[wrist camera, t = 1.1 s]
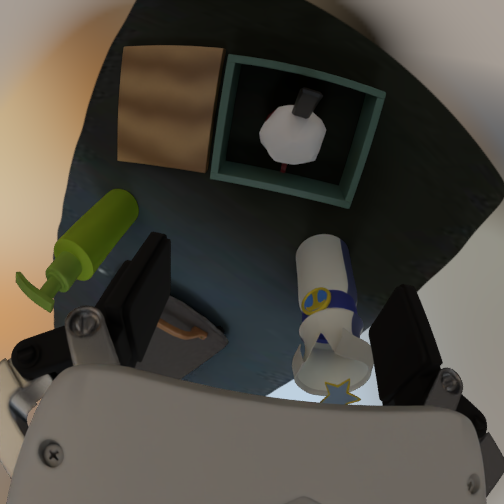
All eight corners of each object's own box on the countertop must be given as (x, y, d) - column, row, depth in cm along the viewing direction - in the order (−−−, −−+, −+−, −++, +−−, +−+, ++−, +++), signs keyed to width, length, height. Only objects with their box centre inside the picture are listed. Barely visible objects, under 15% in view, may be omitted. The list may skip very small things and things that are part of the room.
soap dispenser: (107, 177, 36) (13, 263, 20) (145, 203, 38) (65, 305, 22) (95, 206, 39) (13, 294, 23) (129, 231, 41) (59, 330, 25)
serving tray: (161, 385, 71) (155, 404, 66) (87, 344, 64) (77, 362, 59) (242, 324, 51) (237, 352, 46) (127, 254, 44) (110, 279, 39)
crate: (235, 56, 26) (228, 54, 23) (373, 89, 26) (386, 92, 23) (218, 165, 34) (209, 178, 31) (342, 192, 34) (349, 209, 31)
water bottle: (279, 250, 41) (265, 428, 20) (333, 221, 37) (366, 405, 17) (309, 287, 44) (312, 450, 24) (359, 263, 40) (393, 430, 20)
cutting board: (129, 46, 26) (123, 46, 24) (226, 49, 26) (223, 48, 25) (122, 157, 34) (117, 160, 33) (208, 169, 35) (205, 173, 33)
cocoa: (291, 170, 34) (292, 219, 24) (247, 140, 32) (229, 176, 22) (341, 111, 29) (370, 133, 19) (296, 76, 27) (303, 79, 17)
